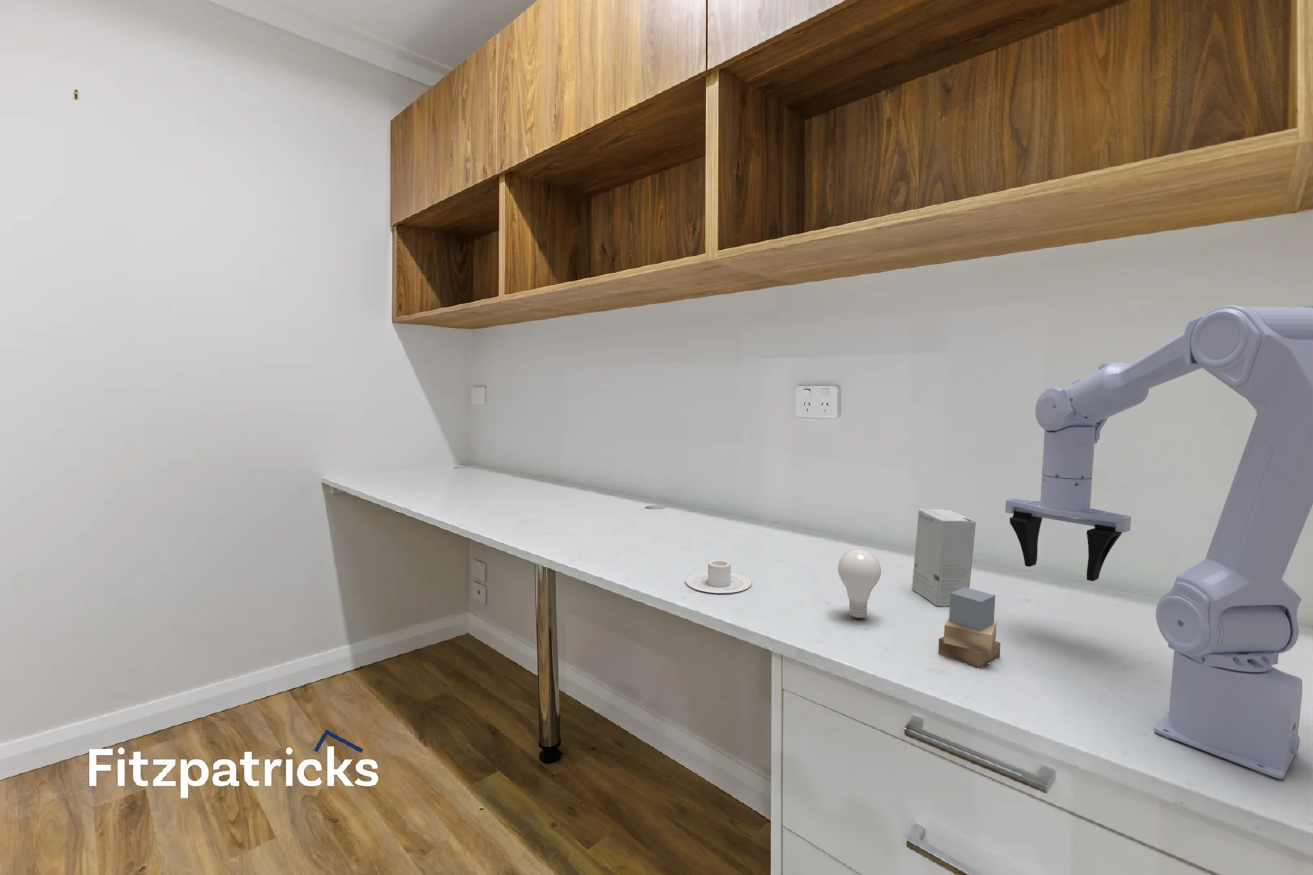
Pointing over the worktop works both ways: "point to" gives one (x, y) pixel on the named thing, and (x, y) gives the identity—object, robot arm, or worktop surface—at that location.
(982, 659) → the lower tile
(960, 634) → the upper tile
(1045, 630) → the worktop surface
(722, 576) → the candle holder
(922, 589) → the skincare box
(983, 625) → the cube
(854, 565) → the lightbulb
